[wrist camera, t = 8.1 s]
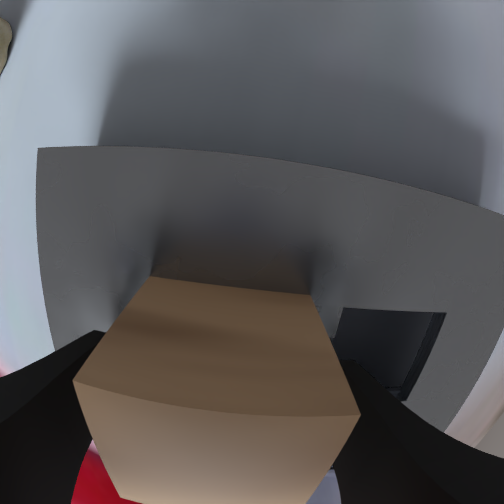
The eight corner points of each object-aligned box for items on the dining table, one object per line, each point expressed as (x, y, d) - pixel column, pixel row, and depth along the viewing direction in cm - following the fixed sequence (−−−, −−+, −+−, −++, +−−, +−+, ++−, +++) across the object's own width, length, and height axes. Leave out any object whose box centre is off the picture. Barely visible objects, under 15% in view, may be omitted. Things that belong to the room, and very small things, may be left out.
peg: (277, 370, 13) (295, 517, 6) (167, 357, 13) (120, 497, 6) (298, 268, 11) (361, 414, 4) (168, 253, 11) (71, 380, 4)
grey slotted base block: (411, 395, 17) (437, 440, 12) (107, 375, 16) (79, 425, 11) (478, 208, 13) (534, 227, 9) (96, 148, 12) (37, 147, 8)
